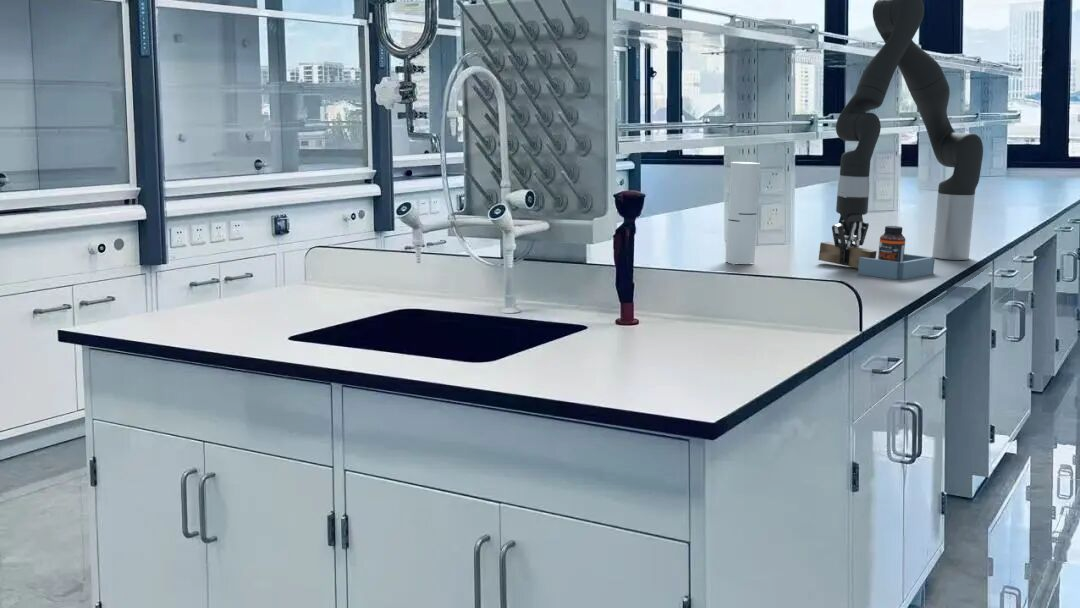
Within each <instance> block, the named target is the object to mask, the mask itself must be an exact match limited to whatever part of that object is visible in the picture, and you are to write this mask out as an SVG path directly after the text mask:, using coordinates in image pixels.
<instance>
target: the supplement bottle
mask: <svg viewBox="0 0 1080 608" xmlns="http://www.w3.org/2000/svg"><path fill="white" fill-rule="evenodd" d="M905 249H906V237H905V236H904V235H903V227H902V226H897V225H886V226H885V227H884V233H883V234H881V235H880V237H879V245H878V252H877V253H878V257H877V259H880V260H887V261H895V262H903V261H904V254H905Z"/></svg>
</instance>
